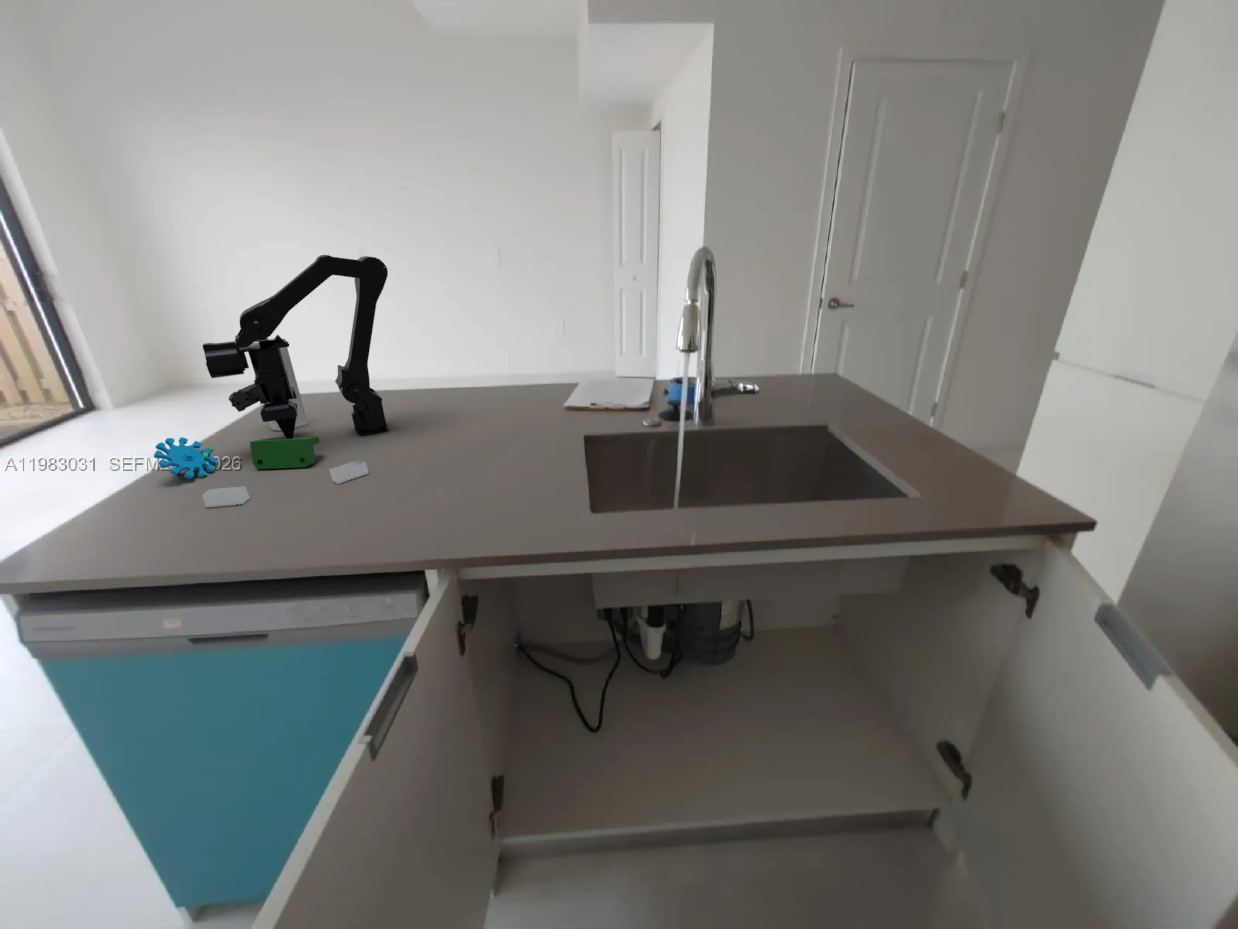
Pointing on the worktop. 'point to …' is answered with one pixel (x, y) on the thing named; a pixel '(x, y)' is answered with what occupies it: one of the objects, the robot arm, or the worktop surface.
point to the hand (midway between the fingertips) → (290, 439)
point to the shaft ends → (241, 495)
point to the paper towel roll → (301, 414)
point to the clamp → (283, 452)
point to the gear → (185, 457)
